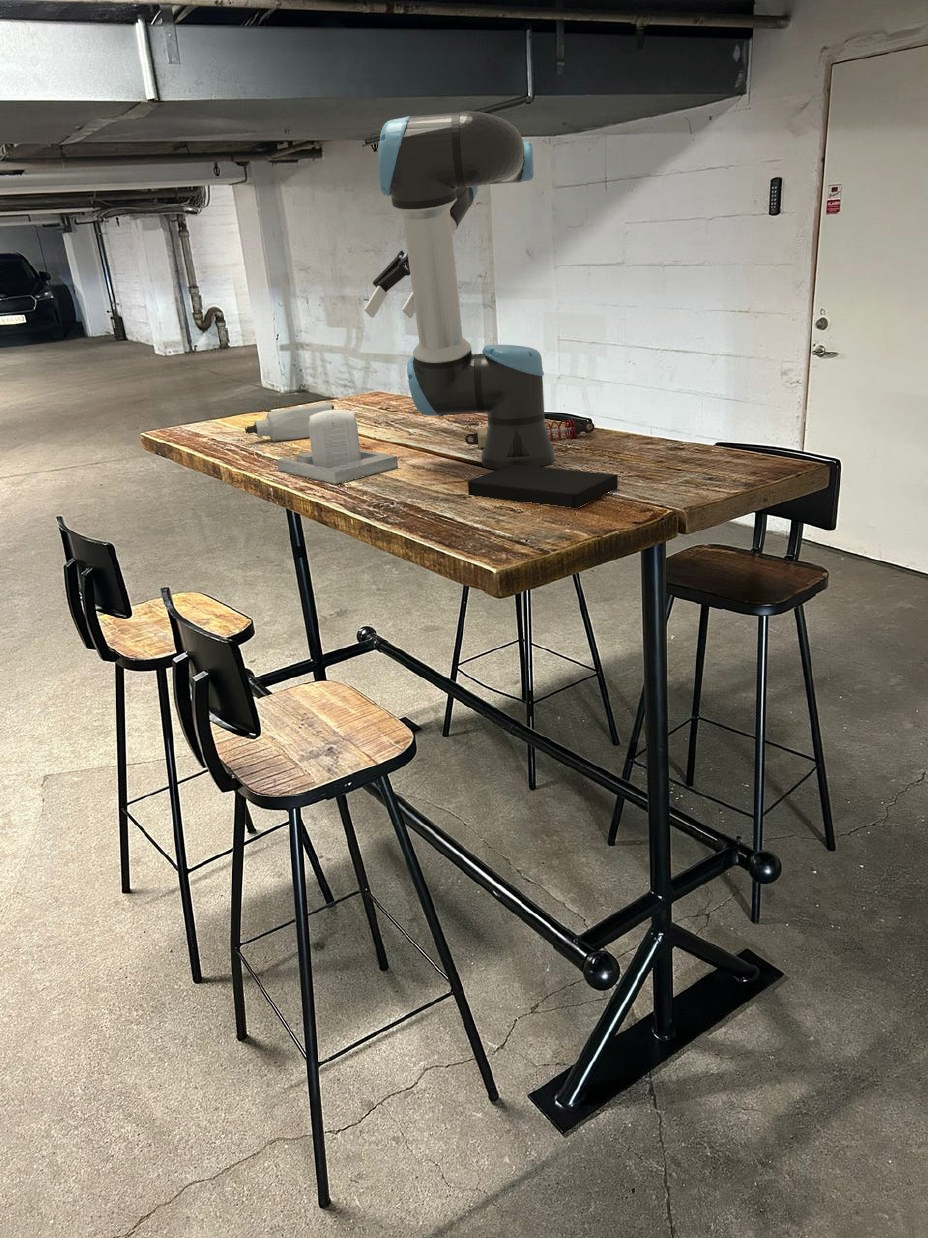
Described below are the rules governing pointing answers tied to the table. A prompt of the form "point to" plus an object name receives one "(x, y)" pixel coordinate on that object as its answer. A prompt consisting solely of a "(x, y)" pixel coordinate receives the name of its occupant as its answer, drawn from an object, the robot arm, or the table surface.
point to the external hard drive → (543, 485)
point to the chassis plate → (338, 467)
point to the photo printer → (334, 438)
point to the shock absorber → (572, 427)
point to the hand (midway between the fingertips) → (386, 313)
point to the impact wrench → (287, 423)
